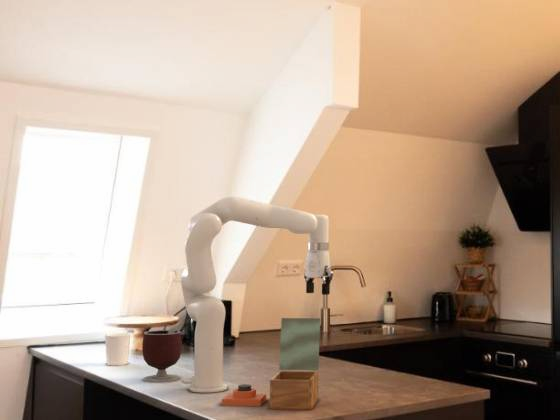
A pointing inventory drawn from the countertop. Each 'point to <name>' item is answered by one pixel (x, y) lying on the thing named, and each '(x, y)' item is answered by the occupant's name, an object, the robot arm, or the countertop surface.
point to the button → (244, 387)
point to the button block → (244, 398)
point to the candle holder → (117, 348)
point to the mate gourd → (162, 352)
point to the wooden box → (294, 390)
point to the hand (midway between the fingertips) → (317, 293)
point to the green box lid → (299, 344)
